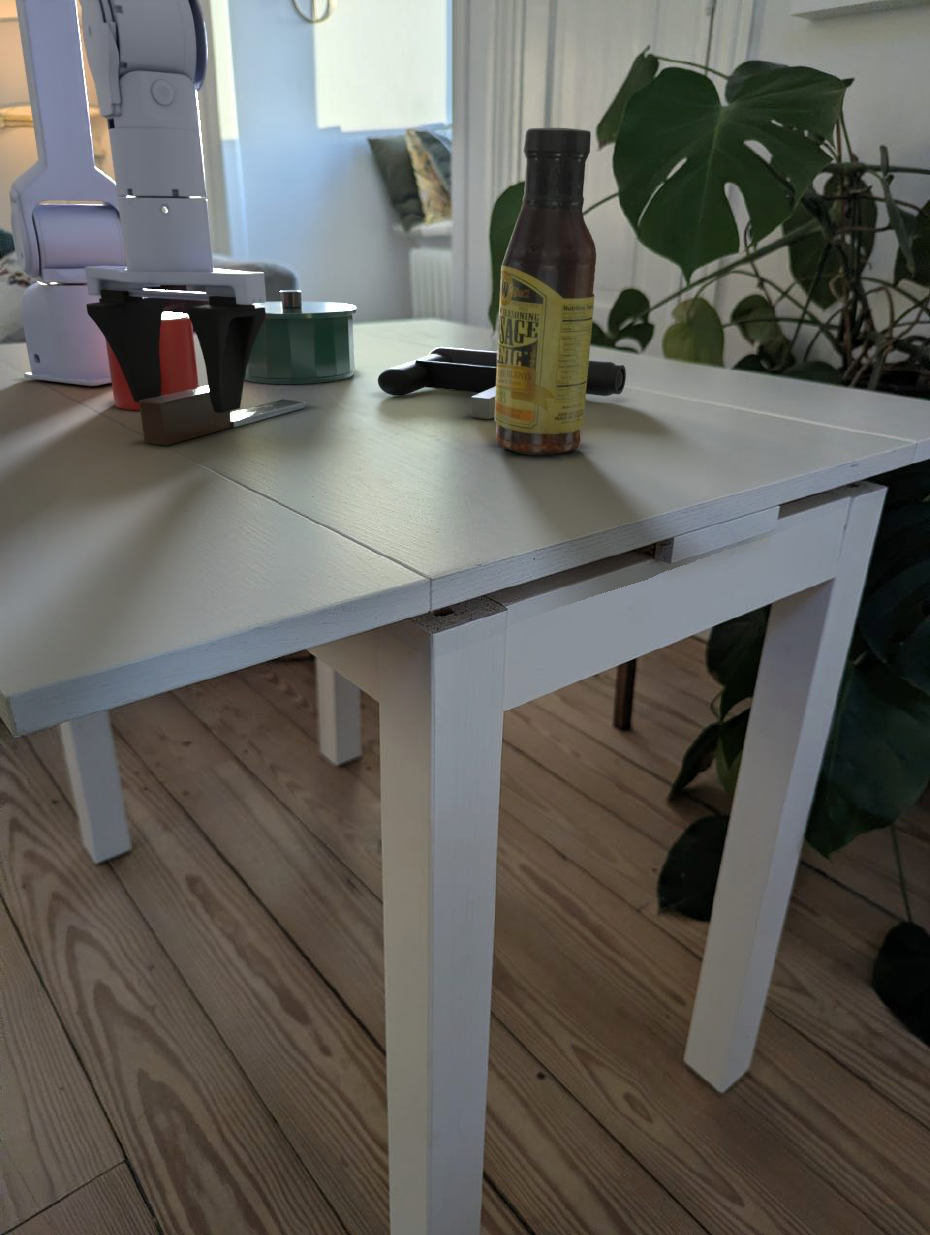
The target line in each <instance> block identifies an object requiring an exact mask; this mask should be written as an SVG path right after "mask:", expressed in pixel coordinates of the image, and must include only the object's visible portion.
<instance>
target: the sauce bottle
mask: <svg viewBox="0 0 930 1235" xmlns="http://www.w3.org/2000/svg"><path fill="white" fill-rule="evenodd" d="M591 134H592V133H591V131H590V130H587V129H580V128H571V127H570V128H569V127H530V128H527V129H526V130H525V133H524V142H523V154H524V157H525V159H526V160H525V161H526V163H525V175H524V178H525V179H524V194H523V197H522V204H521V208H520V211H519V214H518V217H517V220H516V223H515V225H514V229H513V231H512V234H511V237H510V239H509V243H508V246H507V248H506V250H505V251H506V252H505V254H504V258H503V259H502V260H503V261H502V263H501V267H500V279H499V281H500V285H499V286H500V287H499V288H500V290H499V309H498V310H499V311H498V321H497V323H498V324H497V350H496V352H497V375H496V395H495V417H494V423H496V429H495V431H496V434H495V435H496V436H495V437H496V442H497V445H499V446H500V447H501V448H503V449H505V450H510V451H513V452H515V453H518V454H522V455H529V456H532V455H553V454H563V453H569V452H573V451H574V450H576V449H578V448H579V446H580V443H581V441H582V439H581V438H582V437H581V429H582V428H583V427H584V422H585V421H584V420H585V408H586V397H587V394H586V387H587V376H588V364H589V360H590V354H591V341H592V330H593V318H594V306H595V293H594V286H595V275H596V264H597V251H596V250H597V248H596V244H595V241H594V239H593V237H592V234H591V232H590V229H589V227H588V226H587V223H586V221H585V217H584V212H583V210H584V209H583V208H584V202H585V197H584V189H585V187H584V185H585V179H586V178H585V177H586V176H585V175H586V162H587V160H588V158H589V155H590V152H591V137H592V135H591Z"/></svg>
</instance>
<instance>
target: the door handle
mask: <svg viewBox="0 0 930 1235" xmlns="http://www.w3.org/2000/svg"><path fill="white" fill-rule="evenodd" d="M626 370H627V369H626V366H625V365H624V364H617V363H615V362H613V361H608V360H607V361H606V360H596V359H589V364H588V376H587V387H586V395H591V396H601V397H609V396H612V395H621V394H622V392H623V391H624V389H625V386H626V380H627V371H626ZM496 375H497V351H492V350H480V349H471V348H470V349H468V348H457V347H447V346H439V347H435V348H433V349H432V350H431V351H430V352H429V353H428V355H426V356H423V357H420V358H417V359H413V360H410V361H408V362H405V363H402V364H398V365H396V366H393V367H390V368H387V369H385V370H383V371H381V373H380V374H379V375H378V377H377V385H378V387H379V388H380V390H381V391H382V392H384V393H386V394H387V395H390V396H394V397H400V396H401V397H402V396H406V395H409V394H411V393H413V392H417V391H419V390H421V389H424V388H429V389H439V390H447V391H448V390H449V391H455V392H456V391H457V392H468V393H476V394H475V395H472V396H471V397H470V398H471V399H470V400H471V418H476V419H481V420H482V419H484V420H491V419H495V395H496Z"/></svg>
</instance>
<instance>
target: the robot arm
mask: <svg viewBox="0 0 930 1235" xmlns="http://www.w3.org/2000/svg"><path fill="white" fill-rule="evenodd" d="M14 2H15V8H16V13H17V22H18V29H19V35H20V36H19V37H20V43H21V49H22V55H23V63H24V70H25V78H26V84H27V91H28V98H29V104H30V110H31V119H32V126H33V132H34V134H33V135H34V140H35V147H36V153H37V154H36V155H37V160H36V161H35V163H33V165H31V166H30V167H29V168H28V169H27V170H25V171H24V172H23V173H22V174H20V175H19V176H18V177H17V178H16V179H14V180H13V182H12V183H11V185H10V190H9V192H8V196H9V202H10V203H9V204H10V226H11V234H12V240H13V247H14V250H15V254H16V258H17V262H18V264H19V266H20V269H21V270H22V271H23V273H25V274H26V275H27V276H28V277H29V278H31V279H34V280H35V281H36V282H34V283H32V284H31V285H29V286H28V287H27V288H26V289H25V291H24V293H23V294H22V297H21V301H20V317H21V318H20V319H21V322H22V328H23V332H24V333H23V334H24V339H25V345H26V350H27V356H28V361H29V367H30V372H25V373H23V377H24V378H25V379H30V380H39V381H40V380H41V381H47V382H55V383H62V384H71V385H79V386H87V387H96V386H97V387H98V386H101V385H108V384H112V381H111V375H110V368H109V361H108V354H107V347H106V340H107V341H108V343H109V345H110V347H111V348H112V350H113V352H114V354H115V356H116V358H117V360H118V363H119V365H120V367H121V369H122V372H123V374H124V377H125V379H126V382H127V384H128V387H129V389H130V392H131V394H132V397H133V399H134V401H135V402H139V401H140V400H143V399H148V398H153V397H157V396H161V387H162V382H161V368H160V357H159V338H160V326H161V319H162V313H163V312H164V307H165V304H166V299H169V300H183V301H184V300H185V301H199V302H201V301H202V302H208V303H209V304H204V305H196V306H195V305H194V306H186V314H188V316H189V318H190V320H191V323H192V327H193V329H194V332H195V334H196V337H197V340H198V343H199V347H200V349H201V354H202V357H203V361H204V366H205V372H206V378H207V386H208V387H209V394H210V399H211V403H212V406H213V409H214V412H218V413H224V412H228V411H230V412H233V411H237V410H241V405H242V398H243V391H244V384H245V380H244V379H245V374H246V369H247V365H248V361H249V357H250V353H251V350H252V347H253V344H254V342H255V339H256V337H257V334H258V332H259V330H260V328H261V325H262V323H263V322H264V320H265V318H266V308H265V307H264V306H255V305H253V304H257V303H266V302H267V293H266V280H265V279H266V278H265V272H264V271H263V272H262V271H247V270H246V271H245V270H238V269H237V270H235V269H226V268H225V269H224V268H216V267H215V265H214V264H215V263H214V255H213V254H214V253H213V244H212V234H211V224H210V214H209V202H208V194H207V193H208V192H207V185H206V184H207V182H206V172H205V163H204V153H203V152H204V151H203V142H202V141H203V140H202V131H201V120H200V110H199V109H200V108H199V100H198V93H199V92H200V91H201V90H202V87H203V86H204V83H205V80H206V75H207V69H208V34H207V27H206V20H205V17H204V13H203V8H202V5H201V3H200V1H199V0H78V2H79V5H80V8H81V30H82V39H83V44H84V49H85V54H86V60H87V63H88V67H89V70H90V73H91V76H92V79H93V83H94V88H95V92H96V100H97V101H96V102H97V107H98V109H99V114H100V117H101V118H104V119H106V123H107V130H108V138H109V145H110V152H111V159H112V160H111V161H112V167H113V174H114V180H113V179H112V178H111V177H110V176H108V175H107V174H105V173H104V172H103V171H102V170H100V169H99V168H97V167H96V162H95V155H94V145H93V136H92V127H91V119H90V111H89V101H88V94H87V85H86V78H85V77H86V76H85V68H84V59H83V50H82V42H81V33H80V24H79V17H78V7H77V0H15V1H14ZM46 201H63V202H64V201H65V202H66V201H68V202H69V201H72V202H73V201H74V202H76V201H77V202H102V203H103V204H91V203H90V204H84V203H83V204H81V203H80V204H78V203H77V204H76V203H42V202H46ZM163 208H164V210H165V212H164V211H163ZM161 286H185V287H186V290H170V289H169V290H168V289H166V290H165V289H152V288H154V287H161ZM105 338H106V340H105Z"/></svg>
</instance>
